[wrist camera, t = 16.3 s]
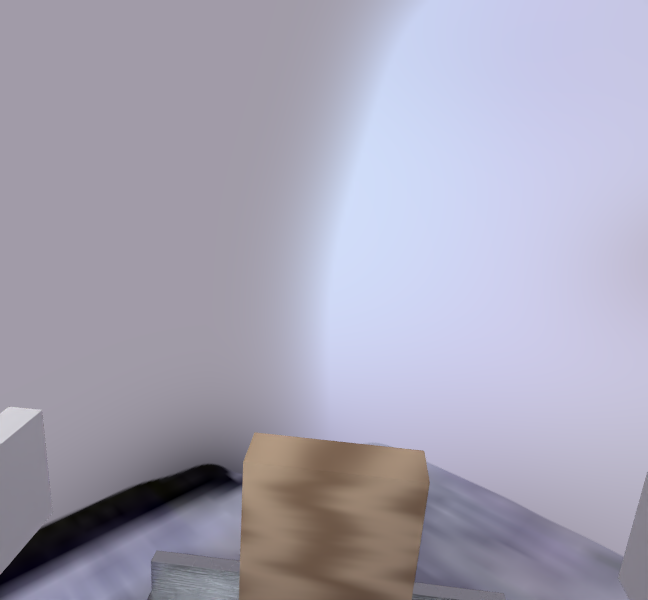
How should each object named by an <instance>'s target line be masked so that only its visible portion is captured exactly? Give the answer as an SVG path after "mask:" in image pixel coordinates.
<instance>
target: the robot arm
mask: <svg viewBox="0 0 648 600" xmlns="http://www.w3.org/2000/svg"><path fill="white" fill-rule="evenodd" d="M52 513H53V510H52V501H51V491H50V481H49V472H48V463H47V454H46V443H45V434H44V424H43V415H42V410H35V409H27V408H16V407H8V408H7V409H6V410H4V411H3V412H2V413H0V574H1V573H2V572H3V571H4V569H5V568H6V567H7V566H8V565H9V564H10V562H11V561H12V560H13V559H14V558H15V557H16V555H17V554H18V553H19V552H20V551H21V550H22V548H23V547H24V546H25V545H26V544H27V543H28V541H29V540H30V539H31V538H32V537H33V536H34V534H35V533H36V532H37V531H38V530H39V528H40V527H41V526H42V525H43V524H44V523H45V521H46V520H47V519H48V518H49V517H50V516H51V514H52ZM618 579H619V581H620V583H621V585H622V587H623V588H624V590H625V592H626V594H627V596H628V598H629V599H630V600H648V472H647V475H646V479H645V483H644V486H643V490H642V493H641V497H640V501H639V505H638V508H637V512H636V515H635V519H634V522H633V526H632V530H631V533H630V537H629V540H628V544H627V547H626V551H625V555H624V558H623V562H622V565H621V569H620V573H619V576H618Z"/></svg>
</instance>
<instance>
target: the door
mask: <svg viewBox="0 0 648 600" xmlns="http://www.w3.org/2000/svg"><path fill="white" fill-rule="evenodd" d="M429 483H430V482H429V476H428V470H427V465H426V459H425V453H424V451H421V450H411V449H402V448H393V447H384V446H374V445H365V444H356V443H346V442H337V441H328V440H318V439H309V438H300V437H291V436H282V435H273V434H263V433H254V436H253V438H252V441H251V443H250V446H249V449H248V451H247V454H246V456H245V459H244V462H243V488H242V518H241V549H240V580H239V600H412V594H413V587H414V581H415V574H416V568H417V561H418V555H419V548H420V542H421V535H422V529H423V522H424V516H425V509H426V503H427V496H428V490H429Z"/></svg>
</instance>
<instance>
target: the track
mask: <svg viewBox="0 0 648 600" xmlns="http://www.w3.org/2000/svg"><path fill="white" fill-rule="evenodd" d="M151 579H152V591H151V593H150V595H149V597H148V599H147V600H239V580H240V561H237V560H229V559H221V558H213V557H205V556H197V555H189V554H181V553H173V552H164V551H156V553H155V555H154V556H153V558H152V560H151ZM412 600H506V599H505V596H504V593H496V592H488V591H480V590H472V589H464V588H456V587H448V586H440V585H432V584H424V583H415V582H414V587H413V594H412Z"/></svg>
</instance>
